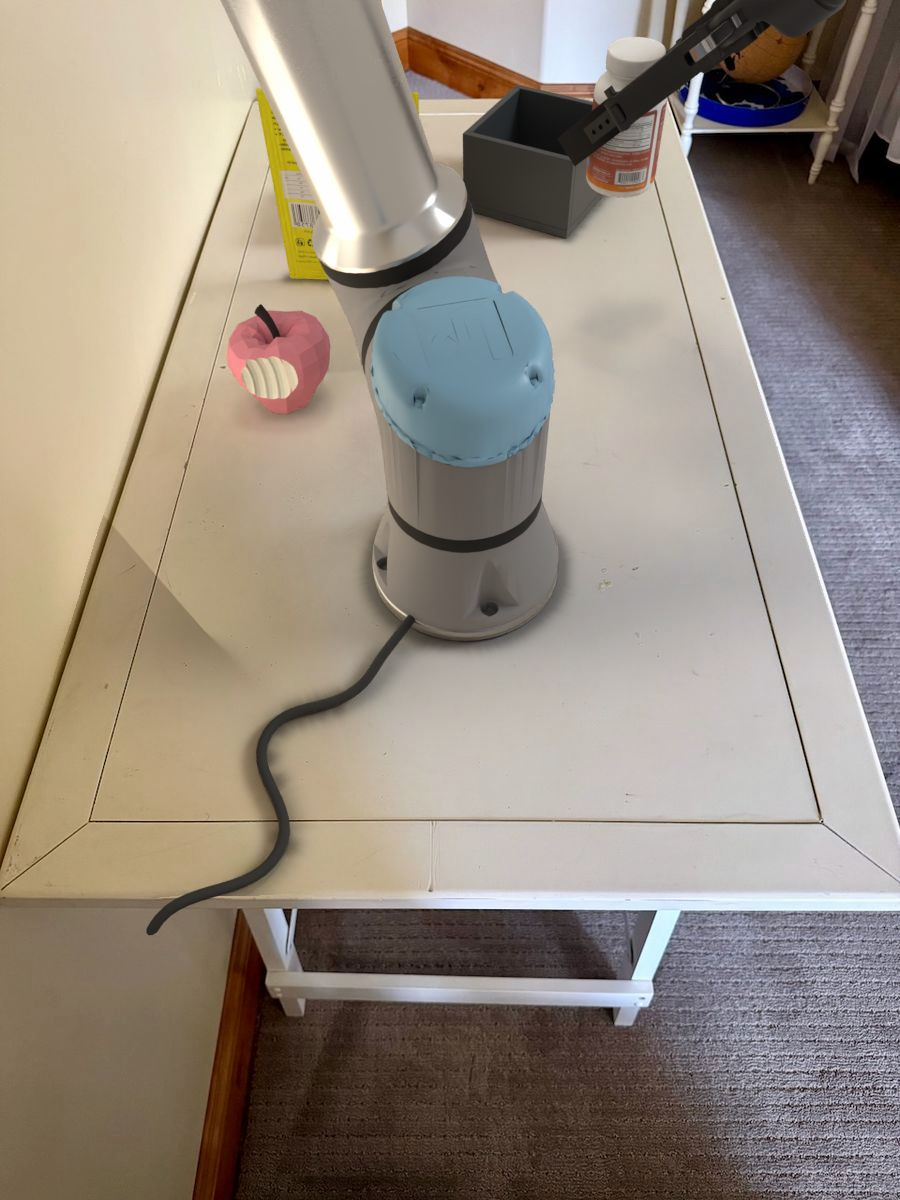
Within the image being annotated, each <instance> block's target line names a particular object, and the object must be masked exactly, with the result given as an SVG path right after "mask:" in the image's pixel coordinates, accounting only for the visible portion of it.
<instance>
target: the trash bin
mask: <svg viewBox="0 0 900 1200" xmlns="http://www.w3.org/2000/svg"><path fill="white" fill-rule="evenodd" d="M592 107H593V100H592V101H591V100H587V99H582V98H580V97H575V96H574V97H573V96H570V95H565V94H561V93H557V92H553V91H549V90H548V91H547V90H545V89H544V90H543V89H539V88H534V87H531V86H527V85H521V84H516V85H515V86H514V87H513V88H511V90H509V92H507V93H506V94H505V95H504V96H503V97H502V98H501V99H499V100H498V102H496V103H495V104H494V105H492V107H491V108H489V109H488V110H487V111H486V112H485V113H484V114H482V115H481V116H480V117H479V118H478V119H477V120H476V121H475V122H474V123H473V124H472V125H471V126H469V128H467V129H466V130H465V131H464V132H462V180H463V181H464V183H465V187H466V190H467V193H468V196H469V199H470V202H471V205H472V209H473V212H474V214H478V215H481V216H485V217H489V218H492V219H495V220H498V221H502V222H507V223H509V224H512V225H513V224H514V225H517V226H521V227H524V228H528V229H531V230H535V231H538V232H542V233H545V234H548V235H552V236H556V237H559V238H564V239H568V237H569V236H570V235H571V234H572V233H573V231H574V230H575V229H576V228H577V227H578V226H579V225H580V223H582V221H584V219H585V218H586V217H587V215H588V214H589V213H590V212H591V210H592V209H594V207H595V206H596V205H597V204H598V203H599V201H600V200H601V199H602V198H603V197H604V195H603V194H600V193H598V192H596V191H595V190H593V189H592V188H591V187H590V186H589V184H588V182H587V179H586V170H587V159H588V157H587V158H586V159H584V160H583V161H582V162H580V163H579V164H578V165H576V166H574V164H573V163H572V161H571V160H570V158H569V156H568V155H567V153H566V152H565V150H564V149H563V147H562V145H561V144H560V142H559V141H558V138H559V137H560V136H561V135H562V134H564V133H565V132H566V131H567V130H569V129H570V128H571V127H572V126H574V125H575V124H576V123H577V122H579V121H580V120H581V119H582V118H584V117H585V116H586V115H587V114H589V113H590V112H591V111H592Z"/></svg>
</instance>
